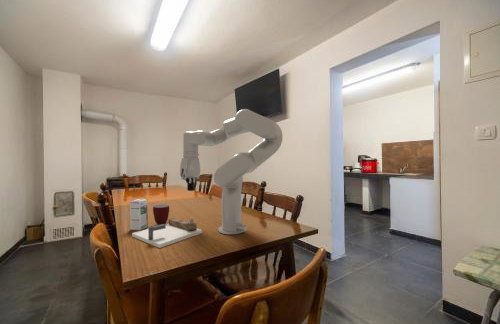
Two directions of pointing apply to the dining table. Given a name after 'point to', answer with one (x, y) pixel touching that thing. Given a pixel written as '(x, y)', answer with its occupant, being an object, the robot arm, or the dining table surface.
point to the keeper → (153, 228)
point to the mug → (161, 213)
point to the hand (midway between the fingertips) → (190, 190)
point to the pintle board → (166, 235)
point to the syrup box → (138, 214)
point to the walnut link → (183, 224)
